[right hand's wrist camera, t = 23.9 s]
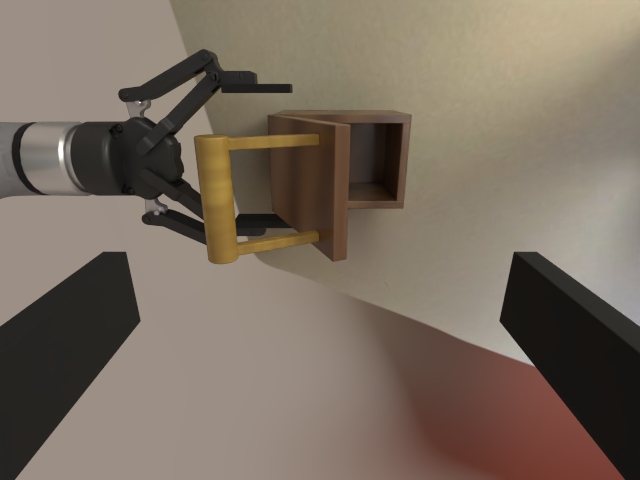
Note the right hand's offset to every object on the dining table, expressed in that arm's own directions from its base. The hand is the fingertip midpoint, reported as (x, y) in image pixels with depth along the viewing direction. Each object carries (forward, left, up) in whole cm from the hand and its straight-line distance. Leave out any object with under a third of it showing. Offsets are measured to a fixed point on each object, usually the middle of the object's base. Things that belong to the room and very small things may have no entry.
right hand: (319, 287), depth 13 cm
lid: (0, -1, -18) cm, 18 cm away
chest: (-1, +2, -34) cm, 34 cm away
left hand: (+1, -3, -28) cm, 28 cm away
